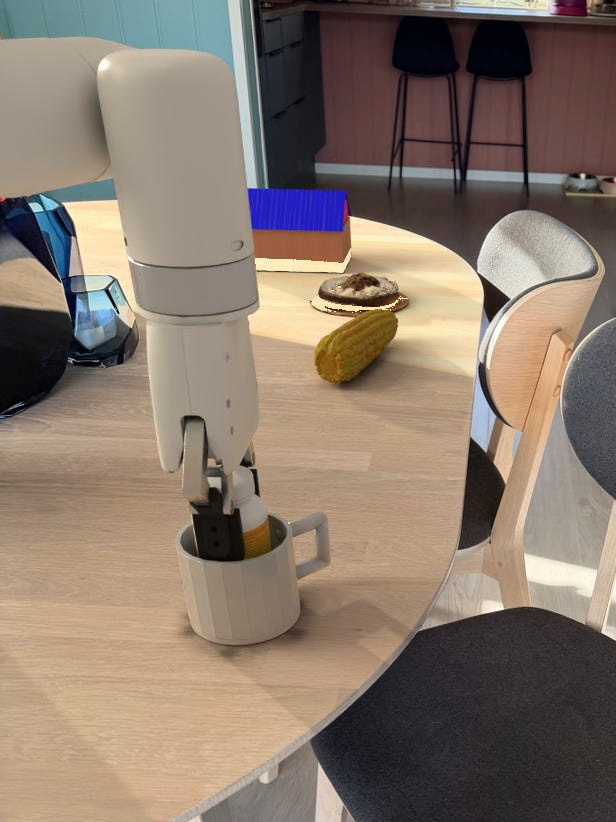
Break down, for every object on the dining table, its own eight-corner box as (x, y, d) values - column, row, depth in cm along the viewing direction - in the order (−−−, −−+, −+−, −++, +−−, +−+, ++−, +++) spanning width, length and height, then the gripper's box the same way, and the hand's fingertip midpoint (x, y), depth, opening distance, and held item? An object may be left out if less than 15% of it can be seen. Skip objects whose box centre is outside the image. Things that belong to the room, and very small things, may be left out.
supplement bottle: (291, 587, 72) (279, 472, 66) (239, 618, 68) (222, 500, 63) (241, 565, 74) (225, 452, 69) (189, 594, 71) (168, 478, 65)
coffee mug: (229, 659, 68) (215, 577, 64) (169, 613, 72) (153, 533, 68) (363, 596, 75) (358, 518, 71) (300, 557, 80) (292, 483, 76)
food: (353, 393, 111) (350, 343, 108) (309, 388, 112) (304, 338, 109) (406, 339, 128) (405, 295, 124) (367, 335, 129) (365, 291, 125)
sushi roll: (299, 313, 136) (297, 284, 134) (322, 286, 148) (320, 259, 146) (399, 318, 135) (398, 288, 133) (414, 290, 148) (413, 263, 145)
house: (241, 253, 164) (232, 180, 158) (354, 256, 165) (350, 184, 158) (225, 270, 155) (215, 194, 148) (345, 274, 155) (341, 198, 148)
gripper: (172, 248, 65) (208, 484, 75) (89, 324, 51) (147, 600, 62) (279, 252, 65) (301, 487, 76) (226, 328, 51) (261, 603, 62)
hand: (231, 535), depth 68 cm, fingers closed on supplement bottle, 5 cm apart
